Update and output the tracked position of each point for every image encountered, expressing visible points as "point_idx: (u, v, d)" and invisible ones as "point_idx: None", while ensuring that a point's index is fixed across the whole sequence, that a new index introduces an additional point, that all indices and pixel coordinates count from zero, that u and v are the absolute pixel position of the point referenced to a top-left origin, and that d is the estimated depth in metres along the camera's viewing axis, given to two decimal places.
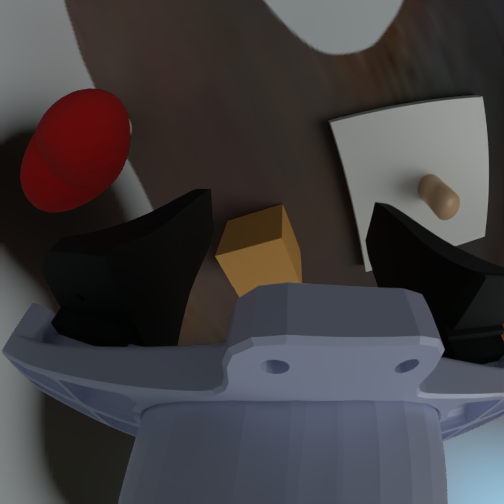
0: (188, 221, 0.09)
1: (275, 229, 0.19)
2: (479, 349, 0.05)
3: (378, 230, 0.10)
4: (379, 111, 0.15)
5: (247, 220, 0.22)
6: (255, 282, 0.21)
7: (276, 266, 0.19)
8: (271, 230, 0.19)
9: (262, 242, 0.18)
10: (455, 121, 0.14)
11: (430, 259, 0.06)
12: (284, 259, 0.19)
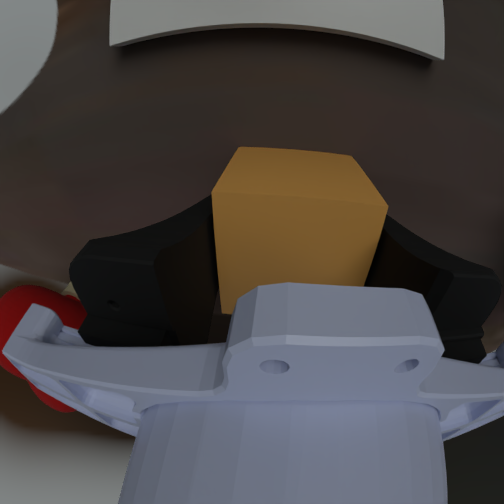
0: None
1: None
2: (453, 353, 0.05)
3: None
4: None
5: None
6: None
7: (287, 232, 0.08)
8: None
9: None
10: None
11: (400, 256, 0.06)
12: (275, 208, 0.07)
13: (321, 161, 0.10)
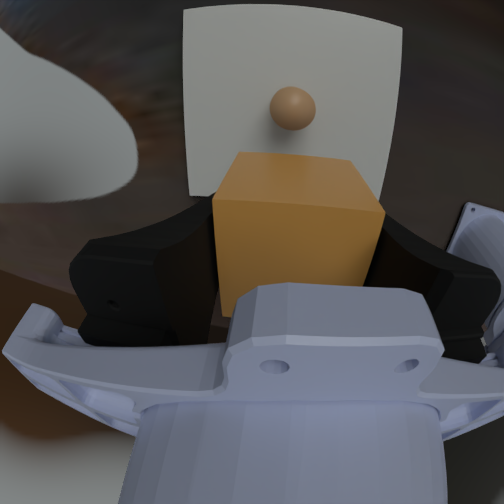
0: None
1: None
2: (453, 353, 0.05)
3: None
4: (186, 147, 0.18)
5: None
6: None
7: (286, 238, 0.08)
8: None
9: (216, 237, 0.08)
10: (209, 53, 0.13)
11: (399, 256, 0.06)
12: (274, 214, 0.08)
13: (320, 166, 0.10)
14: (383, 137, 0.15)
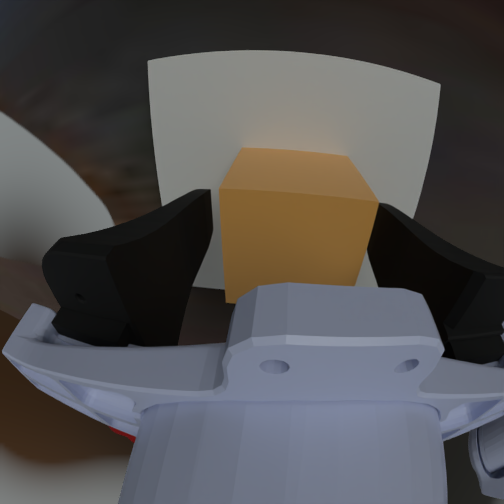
0: (188, 221, 0.09)
1: None
2: (479, 349, 0.05)
3: (378, 230, 0.10)
4: None
5: None
6: (310, 275, 0.10)
7: (287, 225, 0.09)
8: None
9: (221, 225, 0.09)
10: (185, 126, 0.12)
11: (430, 259, 0.06)
12: (276, 203, 0.08)
13: (319, 161, 0.11)
14: None
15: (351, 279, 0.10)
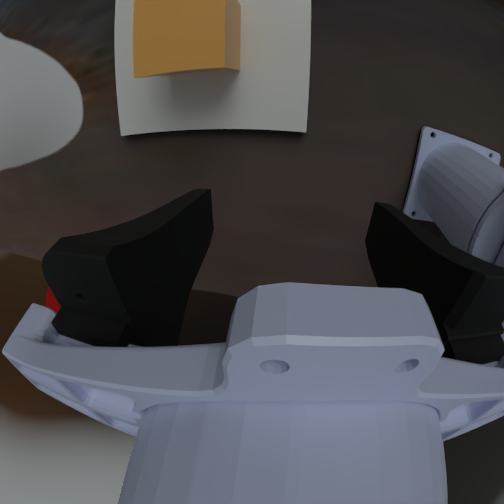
0: (188, 221, 0.09)
1: None
2: (479, 349, 0.05)
3: (378, 230, 0.10)
4: None
5: None
6: (189, 37, 0.10)
7: (170, 8, 0.09)
8: None
9: (134, 20, 0.09)
10: None
11: (430, 259, 0.06)
12: None
13: None
14: (300, 53, 0.14)
15: (220, 36, 0.10)
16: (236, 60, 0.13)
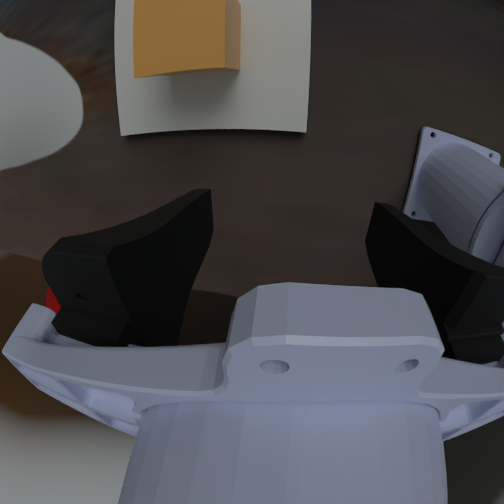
0: (188, 221, 0.09)
1: None
2: (479, 349, 0.05)
3: (378, 230, 0.10)
4: None
5: None
6: (189, 37, 0.10)
7: (170, 8, 0.09)
8: None
9: (134, 20, 0.09)
10: None
11: (430, 259, 0.06)
12: None
13: None
14: (300, 53, 0.14)
15: (220, 36, 0.10)
16: (236, 60, 0.13)
